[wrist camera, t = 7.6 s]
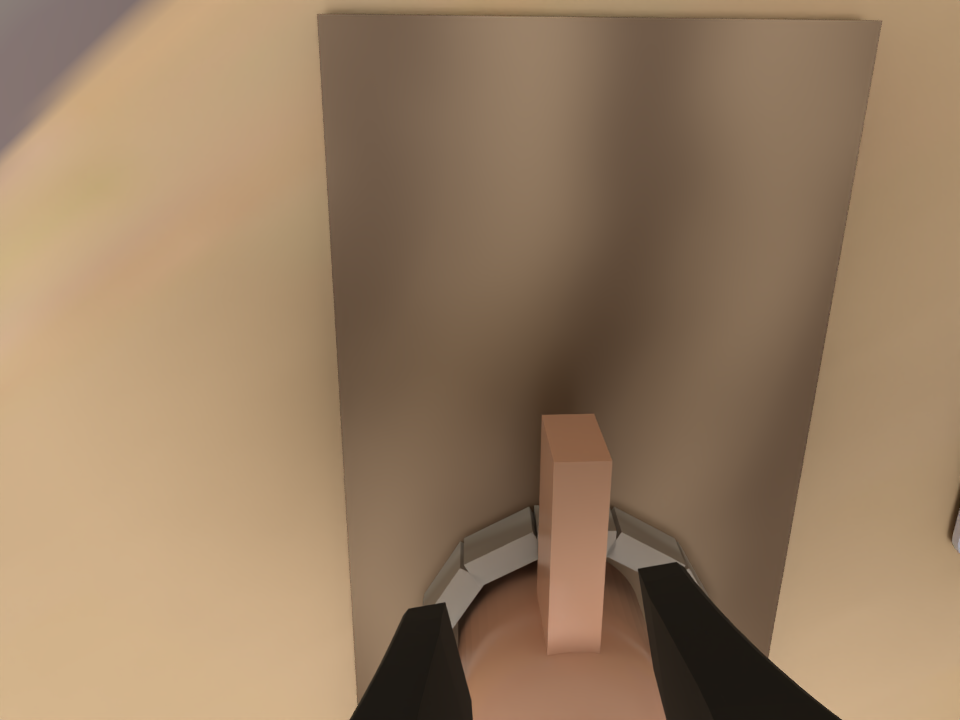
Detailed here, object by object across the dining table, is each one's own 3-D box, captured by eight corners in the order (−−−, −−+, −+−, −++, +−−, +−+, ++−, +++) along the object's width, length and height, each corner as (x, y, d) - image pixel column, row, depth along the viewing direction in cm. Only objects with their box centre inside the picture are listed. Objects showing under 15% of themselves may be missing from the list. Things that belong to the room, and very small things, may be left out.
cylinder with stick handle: (634, 692, 24) (697, 912, 18) (458, 698, 24) (464, 922, 18) (661, 380, 20) (752, 527, 14) (452, 384, 20) (457, 535, 14)
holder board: (861, 21, 18) (910, 19, 16) (736, 754, 27) (758, 814, 25) (325, 14, 18) (306, 12, 16) (365, 755, 26) (357, 816, 24)
